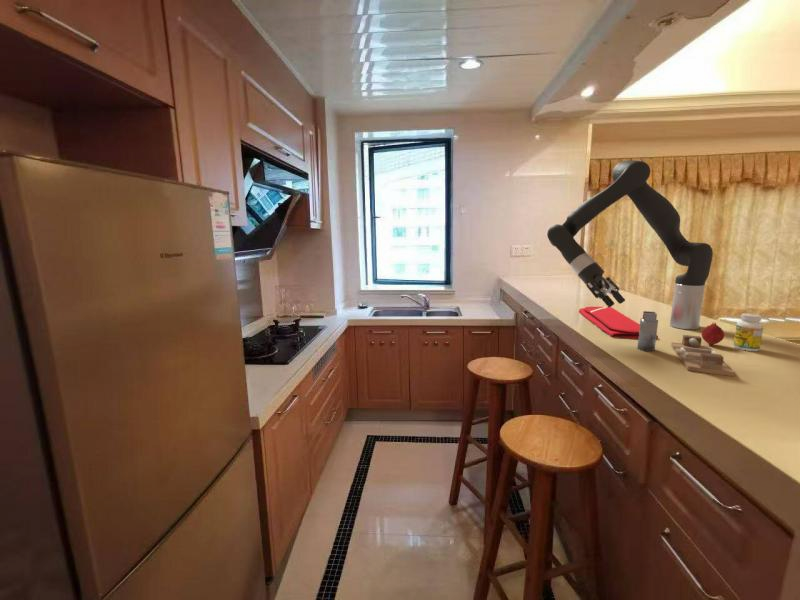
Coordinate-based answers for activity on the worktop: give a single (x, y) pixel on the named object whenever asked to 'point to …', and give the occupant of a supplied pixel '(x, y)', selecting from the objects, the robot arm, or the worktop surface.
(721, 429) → the worktop surface
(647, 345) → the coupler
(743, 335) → the supplement bottle
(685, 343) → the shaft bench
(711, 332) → the onion
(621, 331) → the red folded towel
